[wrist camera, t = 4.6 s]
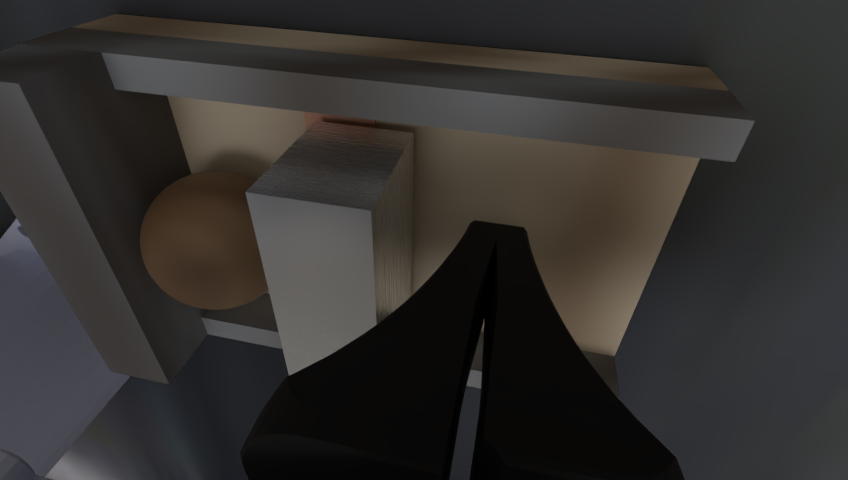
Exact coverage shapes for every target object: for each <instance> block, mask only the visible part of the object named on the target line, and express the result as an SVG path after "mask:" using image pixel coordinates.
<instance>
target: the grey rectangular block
mask: <svg viewBox="0 0 848 480" xmlns="http://www.w3.org/2000/svg"><path fill="white" fill-rule="evenodd" d="M413 147H414V133H412V132H404V131H395V130H387V129H379V128H370V127H362V126H354V125H345V124H337V123H329V122H320V121H315V122H314V123H313V124H312V125H311V126H310V127H309V128H308V129H307V130H306V131H305V132H304V133H303V134H302V135H301V136H300V137H299V138H298V139H297V140H296V141H295V142H294V143H293V144H292V145H291V146H290V147H289V148H288V149H287V150H286V151H285V152H284V153H283V154H282V155H281V156H280V157H279V158H278V159H277V160H276V162H275V163H274V164H273V165H272V166H271V167H270V168H269V169H268V170H267V171H266V172H265V173H264V174H263V175H262V176H261V177H260V178H259V179H258V180H257V181H256V182H255V183H254V184H253V185H252V186H251V187H250V188H249V189H248V190H247V191H246V192H245V193H246V197H247V202H248V206H249V210H250V214H251V218H252V222H253V227H254V231H255V235H256V239H257V243H258V248H259V252H260V256H261V260H262V264H263V269H264V273H265V277H266V281H267V285H268V289H269V294H270V298H271V302H272V306H273V310H274V315H275V319H276V323H277V327H278V331H279V336H280V340H281V344H282V348H283V352H284V356H285V361H286V365H287V369H288V373H289V375H292V374H294V373H296V372H298V371H300V370H302V369H304V368H306V367H307V366H309V365H311V364H313V363H315V362H317V361H319V360H321V359H323V358H325V357H327V356H329V355H330V354H332V353H334V352H335V351H337V350H339V349H340V348H342V347H343V346H345V345H347V344H348V343H350V342H351V341H353V340H355V339H356V338H358V337H359V336H361V335H363V334H364V333H365V332H367V331H368V330H370V329H371V328H373V327H374V326H375V325H377V324H378V323H379V322H381V321H382V320H383V319H384V318H386V317H387V316H388V315H390V314H391V313H392V312H394V311H395V310H396V309H397V308H398V307H399V306H401V305H402V304H403V303H404V302H405V301H406V300H407V299H409V298H410V297H411V265H412V206H413Z"/></svg>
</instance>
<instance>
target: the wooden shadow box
mask: <svg viewBox="0 0 848 480" xmlns="http://www.w3.org/2000/svg"><path fill="white" fill-rule="evenodd" d="M315 121H320V122H329V123H337V124H345V125H354V126H362V127H370V128H379V129H387V130H395V131H404V132H412V133H414V147H413V206H412V265H411V296H412V295H413V294H414V293H415V292H416V291H417V290H418V289H419V288H420V287H421V286H422V285H423V284H424V283H425V282H426V281H427V280H428V279H429V278H430V277H431V275H432V274H433V273H434V272H435V271H436V270H437V269H438V268H439V267H440V266H441V264H442V263H443V262H444V261H445V259H446V258H447V257H448V256H449V254H450V253H451V252H452V251H453V249H454V248H455V247H456V245H457V244H458V242H459V241H460V240H461V238H462V236H463V235H464V233H465V232H466V230H467V228H468V226H469V224H470V223H471V222H473V221H474V220H477V221H484V222H491V223H498V224H505V225H512V226H519V227H524V228H525V230H526V231H527V234H528V239H529V243H530V247H531V251H532V254H533V257H534V260H535V263H536V265H537V268H538V271H539V273H540V275H541V278H542V280H543V282H544V285H545V287H546V289H547V292H548V294H549V296H550V298H551V300H552V302H553V304H554V306H555V308H556V310H557V312H558V313H559V315H560V317H561V319H562V321H563V322H564V324H565V326H566V328H567V329H568V331H569V332H570V334H571V336H572V337H573V339H574V340H575V342H576V343H577V345H578V346H579V348H580V349H581V351H582V352H583V354H584V355H585V357H586V358H587V359H588V361H589V362H590V364H591V365H592V366H593V368H594V369H595V370H596V371H597V373H598V374H599V375H600V376H601V378H602V379H603V380H604V381H605V383H606V384H607V385H608V386H609V388H610V389H611V390H612V391H613V393H614V394H615V395H616V397H617V398H618V399H620V395H619V387H618V380H617V372H616V365H615V358H614V356H615V354H616V351H617V349H618V347H619V344H620V342H621V340H622V337H623V335H624V333H625V331H626V328H627V326H628V324H629V321H630V319H631V317H632V314H633V312H634V310H635V307H636V305H637V303H638V301H639V298H640V296H641V294H642V291H643V289H644V287H645V284H646V282H647V280H648V277H649V275H650V273H651V271H652V268H653V266H654V264H655V261H656V259H657V257H658V254H659V252H660V250H661V247H662V245H663V243H664V241H665V238H666V236H667V234H668V231H669V229H670V227H671V224H672V222H673V220H674V217H675V215H676V213H677V211H678V208H679V206H680V204H681V201H682V199H683V197H684V194H685V192H686V190H687V187H688V185H689V183H690V181H691V178H692V176H693V174H694V171H695V169H696V167H697V164H698V162H699V160H700V158H703V159H712V160H721V161H729V162H735V161H736V159H737V157H738V155H739V153H740V151H741V149H742V147H743V145H744V143H745V141H746V139H747V137H748V135H749V132H750V130H751V128H752V126H753V124H754V122H755V120H754V119H753V118H752V117H751V115H750V114H749V113H748V112H747V111H746V110H745V108H744V107H743V106H742V105H741V104H740V103H739V101H738V100H737V99H736V98H735V97H734V96H733V94H732V93H731V92H730V91H729V90H728V89H727V87H726V86H725V85H724V84H723V83H722V82H721V80H720V79H719V78H718V77H717V76H716V74H715V73H714V72H713V71H712V70H711V69H710V67H699V66H688V65H677V64H666V63H655V62H644V61H633V60H622V59H610V58H599V57H588V56H577V55H566V54H555V53H544V52H533V51H522V50H511V49H500V48H488V47H477V46H466V45H455V44H444V43H433V42H422V41H411V40H400V39H389V38H377V37H366V36H355V35H344V34H333V33H322V32H311V31H300V30H289V29H278V28H267V27H255V26H244V25H233V24H222V23H211V22H200V21H189V20H178V19H167V18H156V17H145V16H133V15H122V14H114V15H111V16H107V17H104V18H101V19H97V20H94V21H91V22H88V23H84V24H81V25H78V26H74V27H71V28H68V29H64V30H61V31H58V32H55V33H51V34H48V35H45V36H41V37H38V38H35V39H32V40H28V41H25V42H22V43H18V45H17V46H14V47H11V48H7V49H4V50H1V51H0V192H1V194H2V195H3V197H4V199H5V200H6V202H7V203H8V205H9V207H10V208H11V210H12V212H13V213H14V215H15V216H16V218H17V220H18V221H19V223H20V225H21V226H22V228H23V230H24V231H25V233H26V234H27V236H28V238H29V239H30V241H31V243H32V244H33V246H34V248H35V249H36V251H37V252H38V254H39V256H40V257H41V259H42V261H43V262H44V264H45V265H46V267H47V269H48V270H49V272H50V274H51V275H52V277H53V279H54V280H55V282H56V283H57V285H58V287H59V288H60V290H61V292H62V293H63V295H64V296H65V298H66V300H67V301H68V303H69V305H70V306H71V308H72V310H73V311H74V313H75V314H76V316H77V318H78V319H79V321H80V323H81V324H82V326H83V328H84V329H85V331H86V332H87V334H88V336H89V337H90V339H91V341H92V342H93V344H94V345H95V347H96V349H97V350H98V352H99V354H100V355H101V357H102V359H103V360H104V362H105V363H106V365H107V367H108V368H109V370H110V372H115V373H119V374H124V375H128V376H133V377H138V378H142V379H147V380H151V381H156V382H160V383H165V384H169V385H170V383H171V382H172V381H173V379H174V378H175V377H176V375H177V374H178V373H179V371H180V370H181V369H182V367H183V366H184V365H185V363H186V362H187V361H188V359H189V358H190V357H191V356H192V354H193V353H194V352H195V350H196V349H197V348H198V346H199V345H200V344H201V342H202V341H203V340H204V338H205V337H206V336H207V334H209V335H214V336H219V337H224V338H230V339H235V340H240V341H245V342H250V343H255V344H260V345H265V346H270V347H275V348H280V349H283V348H282V344H281V340H280V336H279V331H278V327H277V323H276V319H275V315H274V310H273V306H272V302H271V298H270V294H269V289H268V285H267V281H266V277H265V273H264V269H263V264H262V260H261V256H260V252H259V248H258V243H257V239H256V235H255V231H254V227H253V222H252V218H251V214H250V210H249V206H248V202H247V197H246V193H245V192H246V191H247V190H248V189H249V188H250V187H251V186H252V185H253V184H254V183H255V182H256V181H257V180H258V179H259V178H260V177H261V176H262V175H263V174H264V173H265V172H266V171H267V170H268V169H269V168H270V167H271V166H272V165H273V164H274V163H275V162H276V160H277V159H278V158H279V157H280V156H281V155H282V154H283V153H284V152H285V151H286V150H287V149H288V148H289V147H290V146H291V145H292V144H293V143H294V142H295V141H296V140H297V139H298V138H299V137H300V136H301V135H302V134H303V133H304V132H305V131H306V130H307V129H308V128H309V127H310V126H311V125H312V124H313V123H314V122H315ZM483 336H484V322H483V325H482V329H481V333H480V337H479V340H478V344H477V348H476V352H475V355H474V359H473V363H472V367H471V370H470V374H469V378H468V382H467V385H466V386H471V387H476V388H481V379H482V357H483Z"/></svg>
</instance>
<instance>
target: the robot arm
mask: <svg viewBox="0 0 848 480" xmlns="http://www.w3.org/2000/svg"><path fill="white" fill-rule="evenodd" d="M483 322H484V336H483V357H482V379H481V398H480V409H479V417H478V424H477V431H476V438H475V445H474V452H473V459H472V466H471V473H470V480H685V479H684V477H683V474H682V471H681V469H680V466H679V463H678V461H677V459H676V457H675V456H674V455H673V454H672V453H671V452H670V451H669V450H668V449H667V448H666V447H665V446H664V445H663V444H662V443H661V442H660V441H659V440H658V439H657V438H656V437H655V436H654V435H653V434H652V433H651V432H650V431H648V430H647V429H646V428H645V427H644V426H643V425H642V424H641V423H640V422H639V421H638V420H637V419H636V418H635V417H634V416H633V414H632V413H631V412H630V411H629V410H628V409H627V408H626V407H625V406H624V404H623V403H622V402H621V401H620V400H619V399H618V398H617V397H616V395H615V394H614V393H613V391H612V390H611V389H610V388H609V386H608V385H607V384H606V383H605V381H604V380H603V379H602V378H601V376H600V375H599V374H598V373H597V371H596V370H595V369H594V368H593V366H592V365H591V364H590V362H589V361H588V359H587V358H586V357H585V355H584V354H583V352H582V351H581V349H580V348H579V346H578V345H577V343H576V342H575V340H574V339H573V337H572V336H571V334H570V332H569V331H568V329H567V328H566V326H565V324H564V322H563V321H562V319H561V317H560V315H559V313H558V312H557V310H556V308H555V306H554V304H553V302H552V300H551V298H550V296H549V294H548V292H547V289H546V287H545V285H544V282H543V280H542V278H541V275H540V273H539V271H538V268H537V265H536V263H535V260H534V257H533V254H532V251H531V247H530V243H529V239H528V234H527V231H526V230H525V228H524V227H519V226H512V225H505V224H498V223H491V222H484V221H477V220H474V221H473V222H471V223H470V224H469V226H468V228H467V230H466V232H465V233H464V235H463V236H462V238H461V240H460V241H459V242H458V244H457V245H456V247H455V248H454V249H453V251H452V252H451V253H450V254H449V256H448V257H447V258H446V259H445V261H444V262H443V263H442V264H441V266H440V267H439V268H438V269H437V270H436V271H435V272H434V273H433V274H432V275H431V277H430V278H429V279H428V280H427V281H426V282H425V283H424V284H423V285H422V286H421V287H420V288H419V289H418V290H417V291H416V292H415V293H414V294H413V295H412V296H411V297H410V298H409V299H407V300H406V301H405V302H404V303H403V304H402V305H401V306H399V307H398V308H397V309H396V310H395V311H394V312H392V313H391V314H390V315H388V316H387V317H386V318H384V319H383V320H382V321H381V322H379V323H378V324H377V325H375V326H374V327H373V328H371V329H370V330H368V331H367V332H365V333H364V334H363V335H361V336H359V337H358V338H356V339H355V340H353V341H351V342H350V343H348V344H347V345H345V346H343V347H342V348H340V349H339V350H337V351H335V352H334V353H332V354H330V355H329V356H327V357H325V358H323V359H321V360H319V361H317V362H315V363H313V364H311V365H309V366H307V367H306V368H304V369H302V370H300V371H298V372H296V373H294V374H292V375H289V376H287V377H286V378H285V379H284V381H283V382H282V383H281V385H280V386H279V387H278V389H277V390H276V391H275V393H274V394H273V396H272V397H271V398H270V400H269V401H268V402H267V404H266V405H265V407H264V408H263V410H262V412H261V413H260V415H259V417H258V419H257V421H256V422H255V424H254V426H253V428H252V430H251V432H250V434H249V435H248V437H247V439H246V441H245V443H244V445H243V447H242V450H241V453H240V454H241V459H242V464H243V467H244V469H245V472H246V474H247V476H248V479H249V480H449V478H450V472H451V466H452V460H453V454H454V448H455V442H456V436H457V430H458V424H459V418H460V412H461V407H462V402H463V398H464V393H465V389H466V385H467V382H468V378H469V374H470V370H471V367H472V363H473V359H474V355H475V352H476V348H477V344H478V340H479V337H480V333H481V329H482V325H483ZM129 377H130V376H128V375H124V374H119V373H115V372H110V370H109V368H108V367H107V365H106V363H105V362H104V360H103V359H102V357H101V355H100V354H99V352H98V350H97V349H96V347H95V345H94V344H93V342H92V341H91V339H90V337H89V336H88V334H87V332H86V331H85V329H84V328H83V326H82V324H81V323H80V321H79V319H78V318H77V316H76V314H75V313H74V311H73V310H72V308H71V306H70V305H69V303H68V301H67V300H66V298H65V296H64V295H63V293H62V292H61V290H60V288H59V287H58V285H57V283H56V282H55V280H54V279H53V277H52V275H51V274H50V272H49V270H48V269H47V267H46V265H45V264H44V262H43V261H42V259H41V257H40V256H39V254H38V252H37V251H36V249H35V248H34V246H33V244H32V243H31V241H30V239H29V238H28V236H27V234H26V233H25V231H24V230H23V228H22V226H21V225H20V223H19V221H18V220H17V218H16V219H15V221H14V222H13V223H12V224H11V226H10V227H9V228H8V230H7V231H6V232H5V233H4V235H3V236H2V237H1V238H0V480H52V479H49V478H45V476H46V475H47V474H48V473H49V471H50V470H51V469H52V468H53V467H54V465H55V464H56V463H57V462H58V461H59V460H60V458H61V457H62V456H63V455H64V454H65V453H66V451H67V450H68V449H69V448H70V447H71V445H72V444H73V443H74V442H75V441H76V440H77V438H78V437H79V436H80V435H81V434H82V433H83V431H84V430H85V429H86V428H87V427H88V425H89V424H90V423H91V422H92V421H93V420H94V418H95V417H96V416H97V415H98V414H99V413H100V411H101V410H102V409H103V408H104V407H105V405H106V404H107V403H108V402H109V401H110V400H111V398H112V397H113V396H114V395H115V394H116V393H117V391H118V390H119V389H120V388H121V387H122V385H123V384H124V383H125V382H126V381H127V380H128V378H129Z"/></svg>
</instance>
